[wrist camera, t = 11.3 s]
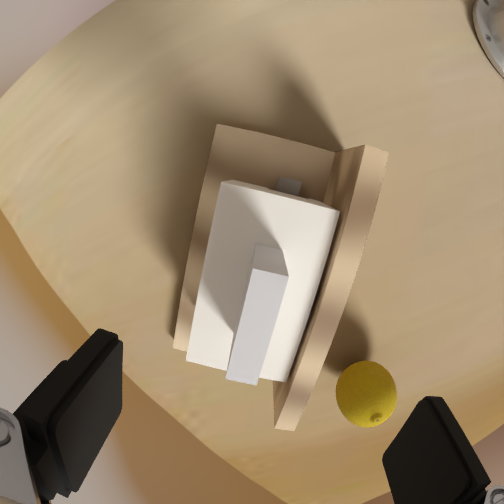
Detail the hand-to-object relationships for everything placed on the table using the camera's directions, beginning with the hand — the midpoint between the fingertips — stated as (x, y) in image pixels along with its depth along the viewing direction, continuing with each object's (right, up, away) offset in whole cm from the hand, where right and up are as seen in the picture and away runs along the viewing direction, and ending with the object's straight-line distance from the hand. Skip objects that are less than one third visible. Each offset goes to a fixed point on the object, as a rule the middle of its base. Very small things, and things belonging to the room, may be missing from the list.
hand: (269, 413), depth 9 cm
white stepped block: (0, +4, +18) cm, 18 cm away
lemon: (+10, -7, +22) cm, 25 cm away
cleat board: (0, +4, +19) cm, 19 cm away
